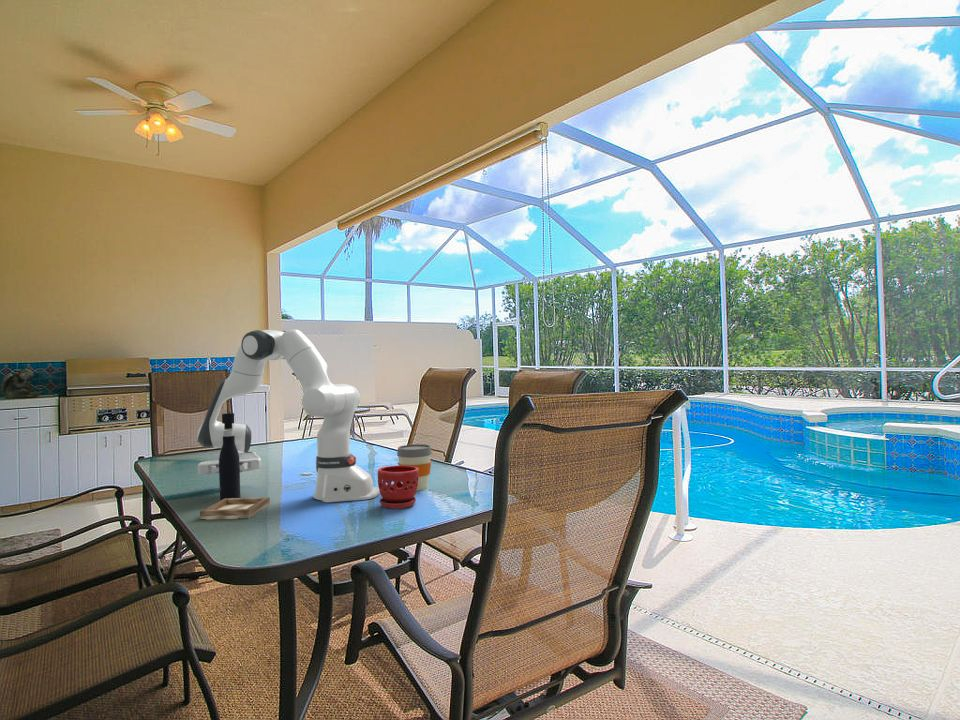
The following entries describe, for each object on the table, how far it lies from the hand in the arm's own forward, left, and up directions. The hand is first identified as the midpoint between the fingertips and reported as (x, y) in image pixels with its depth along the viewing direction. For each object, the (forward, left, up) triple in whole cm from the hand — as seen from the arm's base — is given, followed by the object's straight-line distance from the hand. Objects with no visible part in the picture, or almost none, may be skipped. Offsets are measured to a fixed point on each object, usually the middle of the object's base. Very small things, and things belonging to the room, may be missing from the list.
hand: (229, 469), depth 179 cm
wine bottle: (0, -1, -11) cm, 11 cm away
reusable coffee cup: (-62, -14, -11) cm, 64 cm away
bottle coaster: (-9, +13, -11) cm, 19 cm away
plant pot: (-60, +9, -11) cm, 61 cm away
